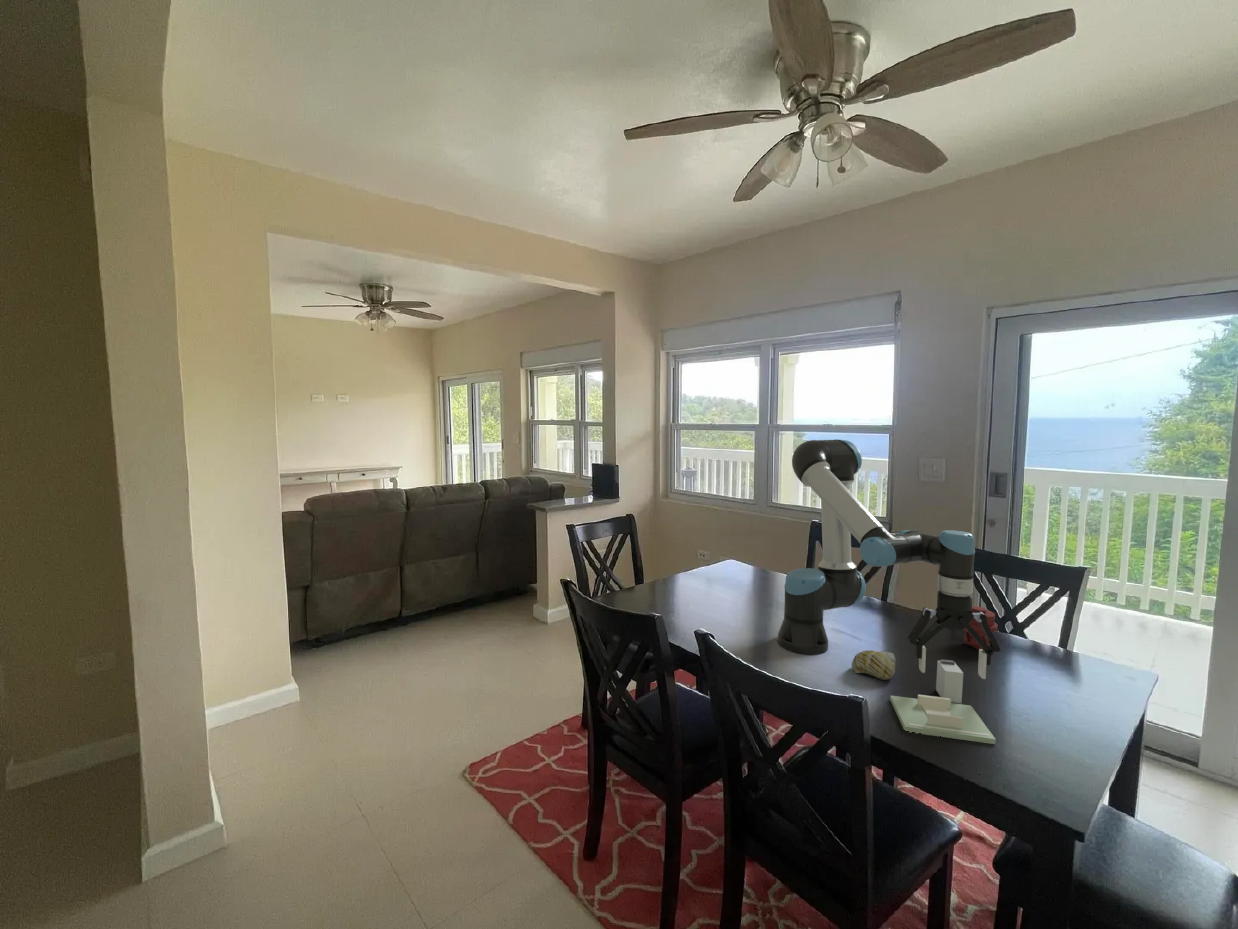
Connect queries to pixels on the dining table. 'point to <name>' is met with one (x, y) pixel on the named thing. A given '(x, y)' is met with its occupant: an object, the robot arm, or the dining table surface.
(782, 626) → the robot arm
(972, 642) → the mechanical component
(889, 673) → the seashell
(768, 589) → the dining table surface
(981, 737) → the board
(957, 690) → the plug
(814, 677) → the dining table surface
